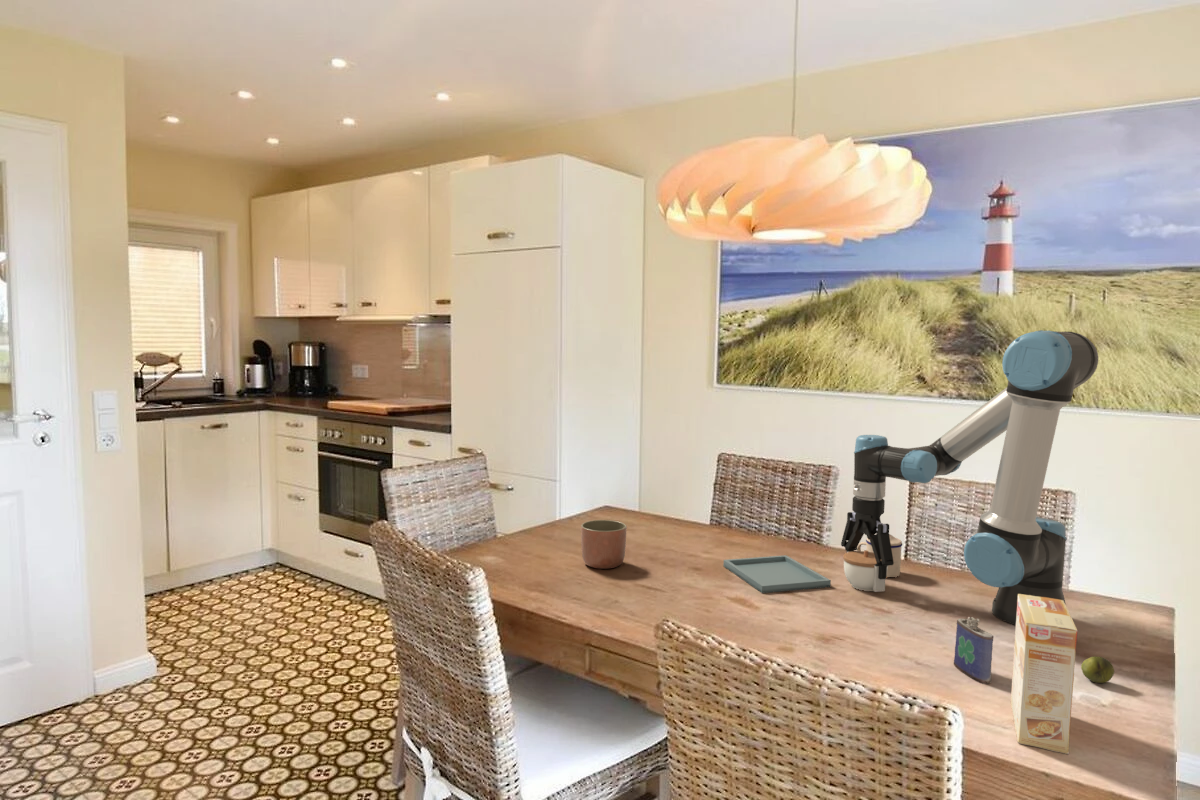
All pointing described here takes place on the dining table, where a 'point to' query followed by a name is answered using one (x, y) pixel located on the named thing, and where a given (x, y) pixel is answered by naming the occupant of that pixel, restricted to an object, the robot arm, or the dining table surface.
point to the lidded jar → (860, 569)
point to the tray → (776, 574)
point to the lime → (1097, 669)
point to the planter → (603, 543)
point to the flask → (973, 650)
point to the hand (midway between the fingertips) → (864, 583)
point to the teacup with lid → (896, 553)
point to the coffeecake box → (1043, 672)
